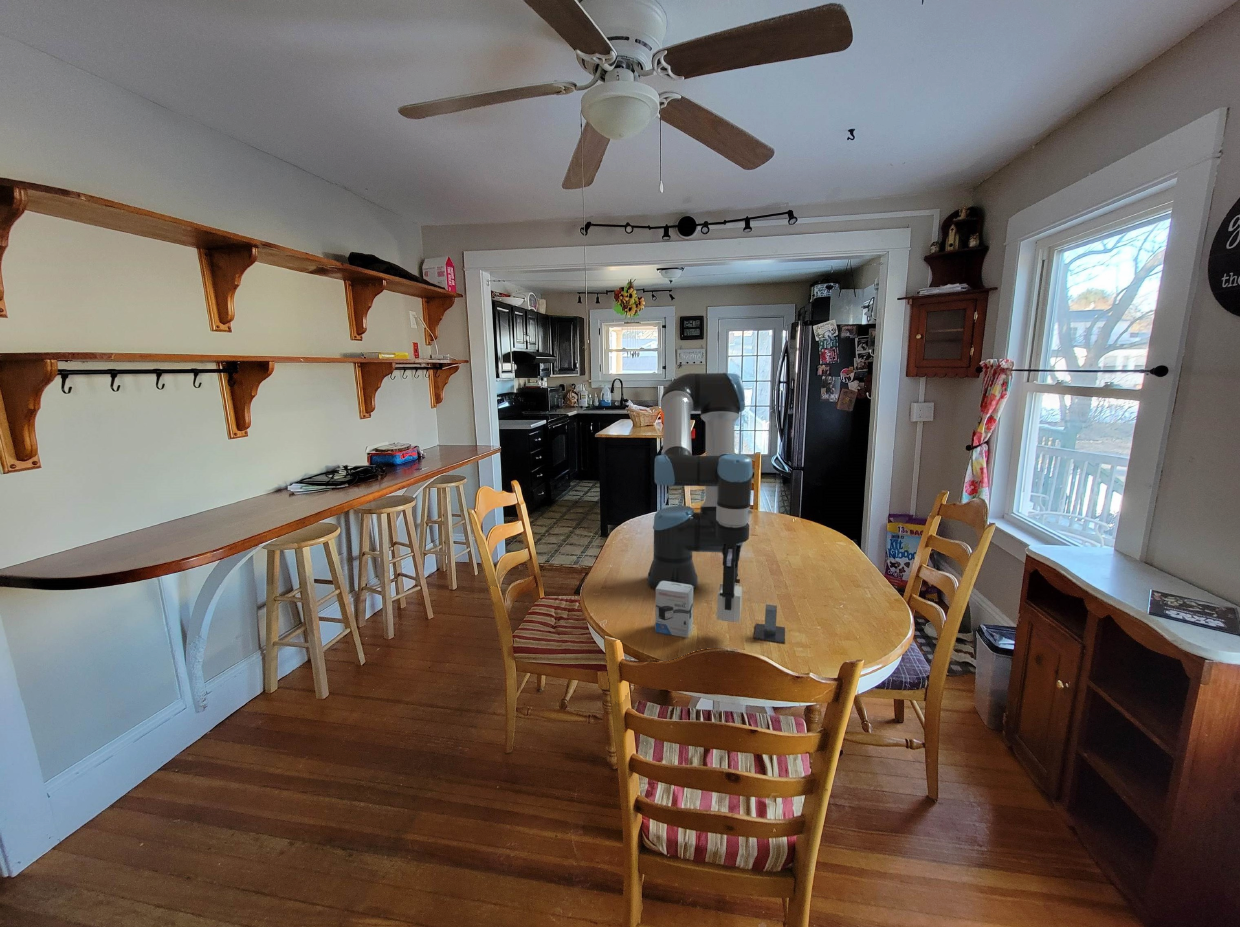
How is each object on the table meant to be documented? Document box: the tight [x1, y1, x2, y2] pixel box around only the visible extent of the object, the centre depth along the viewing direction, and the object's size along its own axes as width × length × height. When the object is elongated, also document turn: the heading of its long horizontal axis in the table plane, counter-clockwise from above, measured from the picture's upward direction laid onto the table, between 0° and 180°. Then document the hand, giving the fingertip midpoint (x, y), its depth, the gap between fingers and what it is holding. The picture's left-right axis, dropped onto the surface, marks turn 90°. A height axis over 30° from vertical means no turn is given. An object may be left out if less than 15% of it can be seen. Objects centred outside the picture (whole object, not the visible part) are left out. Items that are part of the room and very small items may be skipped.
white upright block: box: [716, 583, 743, 623], centre depth 121 cm, size 5×5×7 cm
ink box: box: [654, 581, 694, 638], centre depth 125 cm, size 8×5×12 cm, turn 69°
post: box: [753, 603, 786, 644], centre depth 124 cm, size 7×7×7 cm
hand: (729, 614), depth 122 cm, fingers closed on white upright block, 5 cm apart
